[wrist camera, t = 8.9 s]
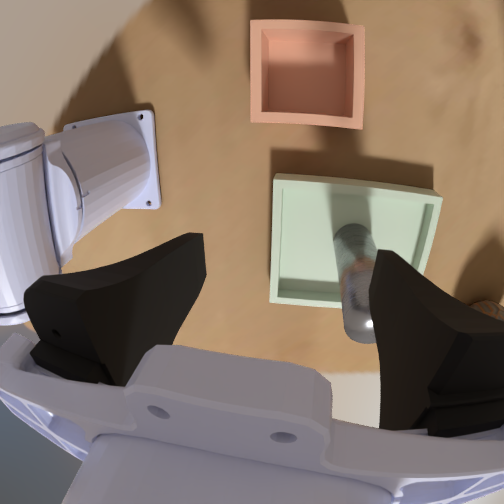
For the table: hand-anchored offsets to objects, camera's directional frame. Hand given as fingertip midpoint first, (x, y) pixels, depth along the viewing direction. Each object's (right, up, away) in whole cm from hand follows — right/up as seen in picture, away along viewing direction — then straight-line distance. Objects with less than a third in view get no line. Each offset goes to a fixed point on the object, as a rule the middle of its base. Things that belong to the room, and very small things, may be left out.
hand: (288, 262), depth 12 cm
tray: (+6, +1, +10) cm, 12 cm away
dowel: (+6, +1, +10) cm, 11 cm away
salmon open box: (+2, +12, +5) cm, 13 cm away
